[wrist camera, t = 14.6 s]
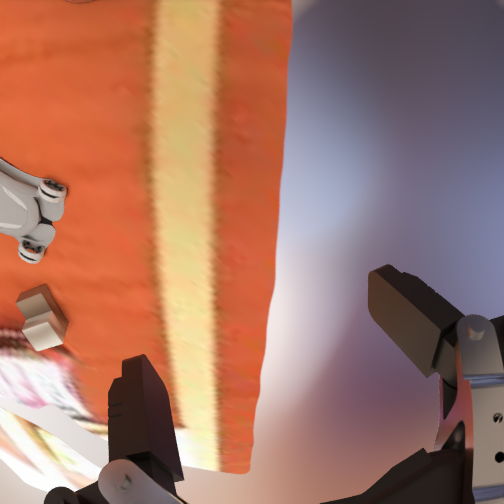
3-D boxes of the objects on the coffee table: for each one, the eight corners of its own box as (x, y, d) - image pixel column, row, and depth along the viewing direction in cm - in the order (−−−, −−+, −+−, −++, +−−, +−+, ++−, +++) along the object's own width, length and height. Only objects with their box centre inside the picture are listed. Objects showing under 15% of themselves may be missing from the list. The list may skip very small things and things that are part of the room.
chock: (68, 321, 40) (63, 343, 36) (44, 329, 40) (37, 351, 35) (45, 283, 37) (36, 303, 33) (20, 293, 36) (10, 313, 32)
